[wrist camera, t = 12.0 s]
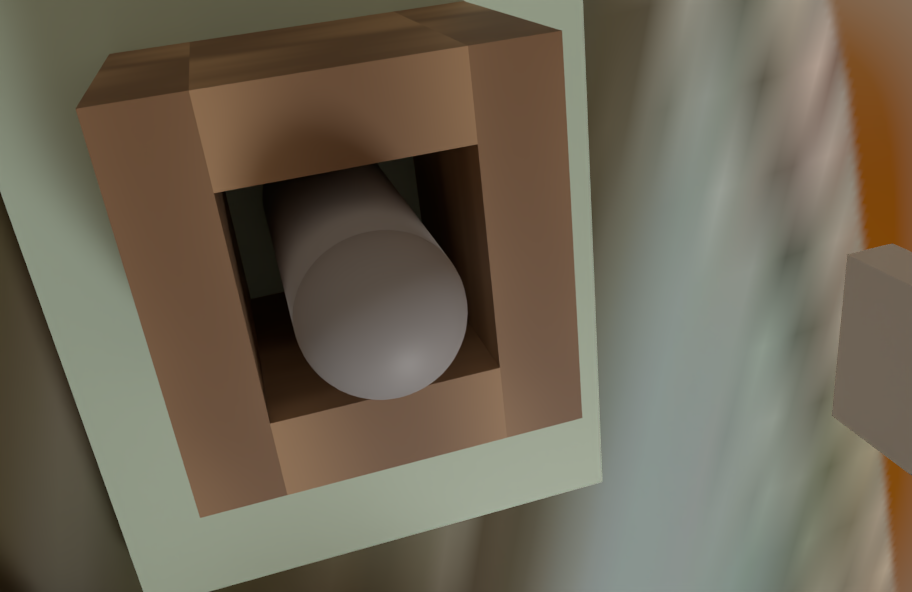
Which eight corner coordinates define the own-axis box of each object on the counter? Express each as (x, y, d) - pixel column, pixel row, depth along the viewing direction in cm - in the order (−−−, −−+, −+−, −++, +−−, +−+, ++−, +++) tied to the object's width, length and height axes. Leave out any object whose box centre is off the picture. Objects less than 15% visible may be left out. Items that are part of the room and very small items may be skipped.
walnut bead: (198, 372, 22) (199, 518, 16) (109, 53, 18) (75, 108, 13) (494, 305, 23) (581, 418, 18) (464, 1, 20) (561, 30, 15)
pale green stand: (151, 572, 25) (129, 917, 17) (-156, -311, 16) (-585, -595, 7) (583, 455, 28) (759, 697, 19) (541, -353, 19) (848, -593, 10)
